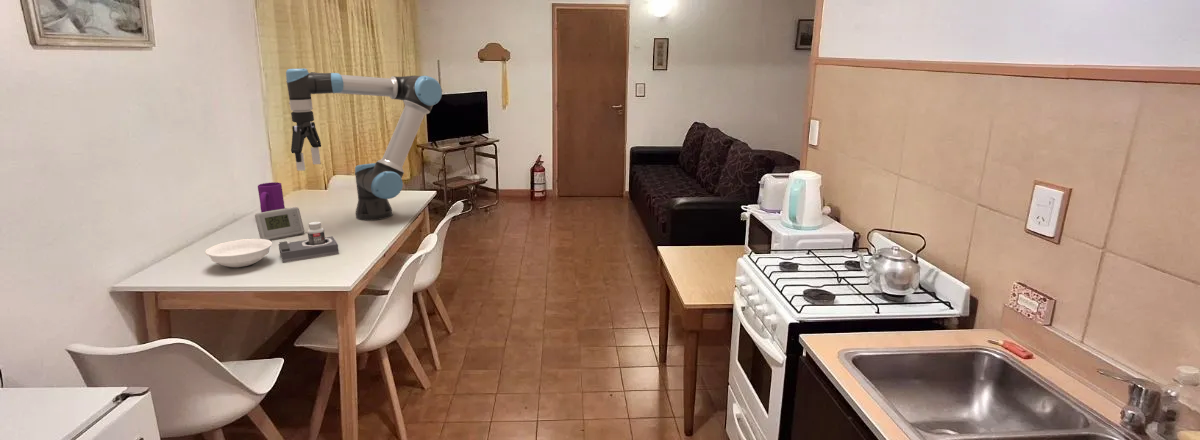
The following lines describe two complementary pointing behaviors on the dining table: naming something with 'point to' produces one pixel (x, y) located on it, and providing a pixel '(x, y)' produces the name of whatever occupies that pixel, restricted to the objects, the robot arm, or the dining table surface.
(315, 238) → the pill bottle
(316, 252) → the octagonal hole plate
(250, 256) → the bowl
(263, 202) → the mug
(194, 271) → the dining table surface
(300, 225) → the digital clock
